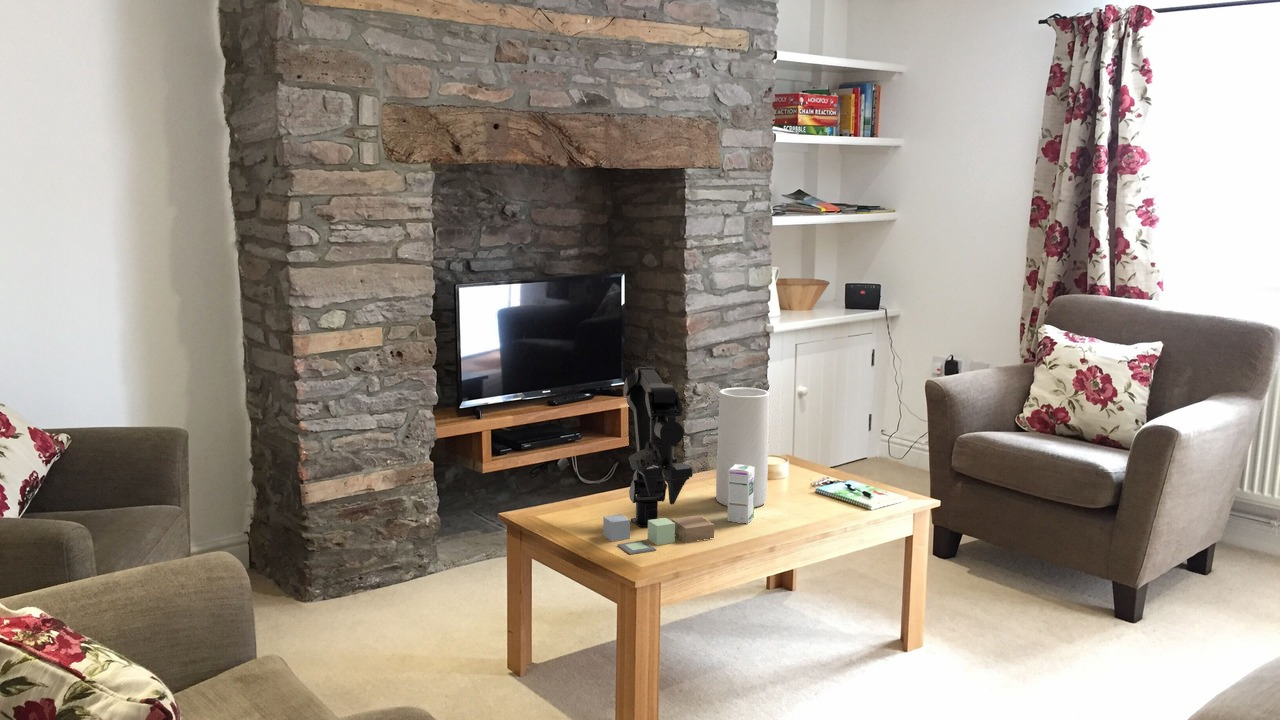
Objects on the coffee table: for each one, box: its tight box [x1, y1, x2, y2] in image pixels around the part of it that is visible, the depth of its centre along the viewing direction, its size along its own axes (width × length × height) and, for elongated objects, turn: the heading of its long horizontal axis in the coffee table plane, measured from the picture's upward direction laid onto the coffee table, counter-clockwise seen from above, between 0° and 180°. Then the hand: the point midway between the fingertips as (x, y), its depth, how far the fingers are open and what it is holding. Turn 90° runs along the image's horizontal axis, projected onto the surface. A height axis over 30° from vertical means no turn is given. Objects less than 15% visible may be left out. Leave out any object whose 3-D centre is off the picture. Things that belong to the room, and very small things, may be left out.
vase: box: [715, 387, 770, 508], centre depth 288 cm, size 14×14×32 cm
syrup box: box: [727, 464, 755, 525], centre depth 273 cm, size 6×6×14 cm
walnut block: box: [671, 515, 715, 544], centre depth 261 cm, size 8×8×4 cm
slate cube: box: [602, 513, 631, 542], centre depth 259 cm, size 5×5×5 cm
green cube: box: [647, 517, 676, 546], centre depth 257 cm, size 5×5×5 cm
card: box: [617, 539, 657, 555], centre depth 251 cm, size 7×7×1 cm
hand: (661, 500), depth 254 cm, fingers open, 9 cm apart
